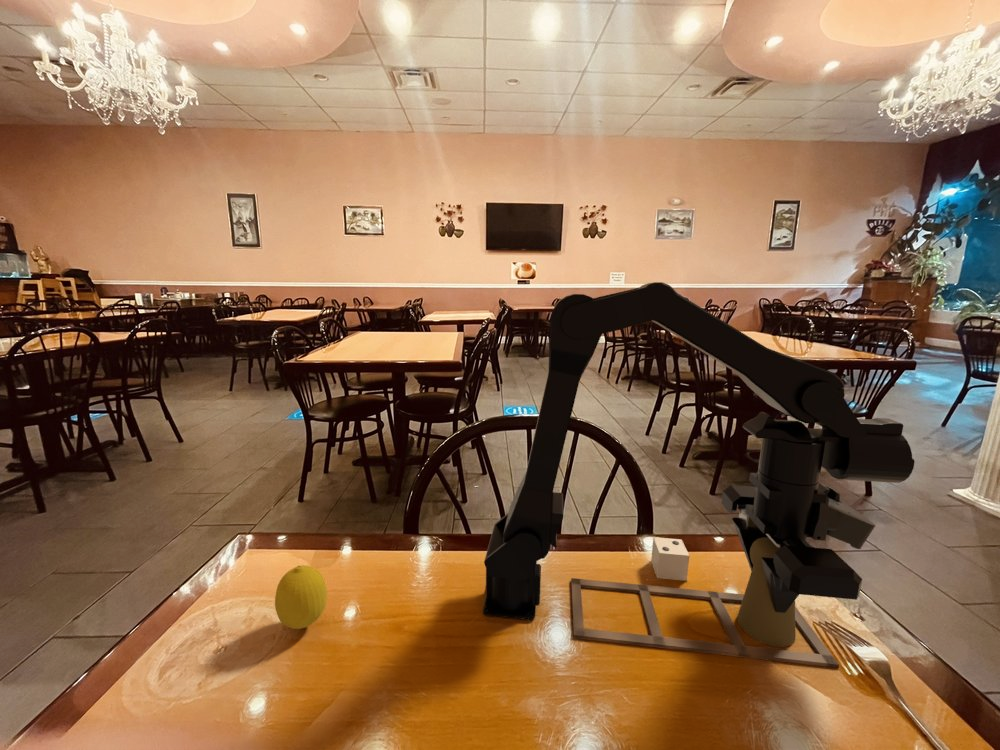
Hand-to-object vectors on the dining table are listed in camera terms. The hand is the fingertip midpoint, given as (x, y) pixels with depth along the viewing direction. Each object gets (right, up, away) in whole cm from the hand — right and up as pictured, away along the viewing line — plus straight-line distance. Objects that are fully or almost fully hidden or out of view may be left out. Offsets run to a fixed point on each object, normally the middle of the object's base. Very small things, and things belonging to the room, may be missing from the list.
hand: (769, 597), depth 51 cm
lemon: (-56, -4, 0) cm, 56 cm away
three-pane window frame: (-9, -4, +2) cm, 10 cm away
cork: (0, -4, +1) cm, 4 cm away
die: (-8, -2, +11) cm, 14 cm away
